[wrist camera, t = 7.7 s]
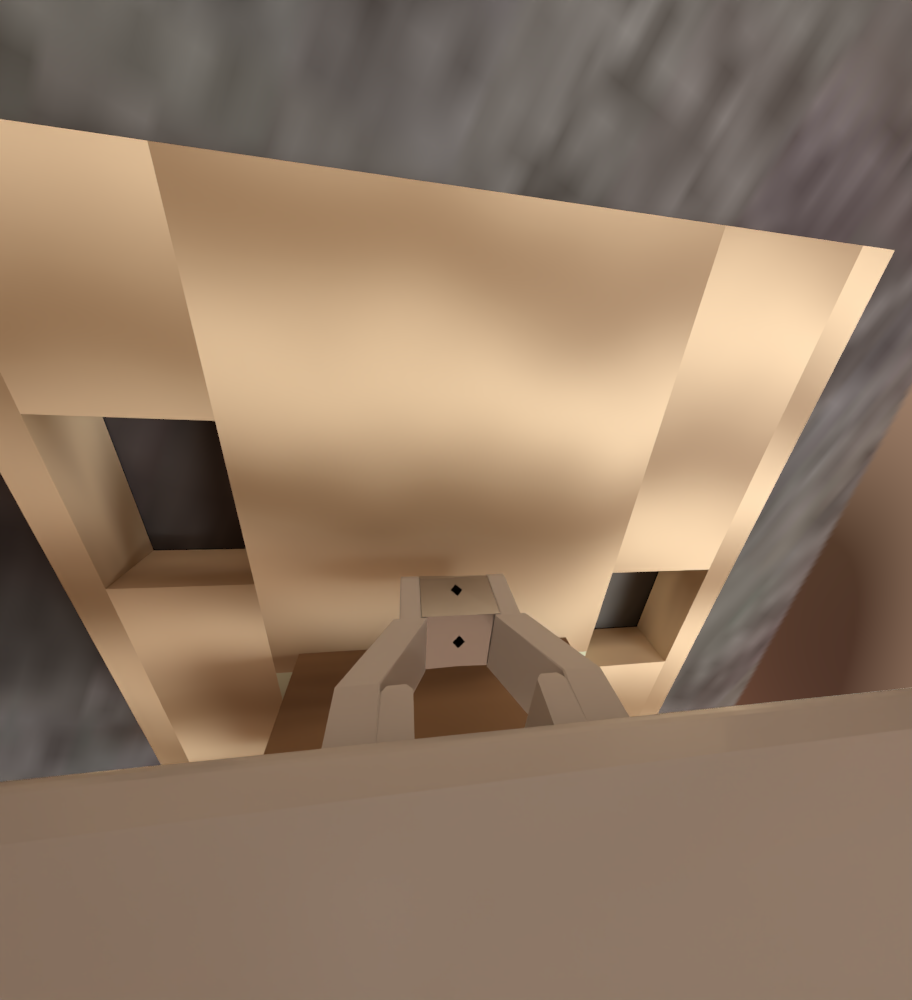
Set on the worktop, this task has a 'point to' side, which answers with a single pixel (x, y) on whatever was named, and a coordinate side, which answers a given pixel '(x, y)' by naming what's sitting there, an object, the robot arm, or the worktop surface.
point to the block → (437, 700)
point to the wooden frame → (389, 406)
